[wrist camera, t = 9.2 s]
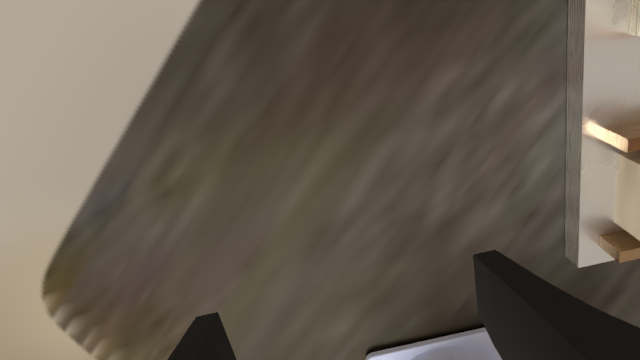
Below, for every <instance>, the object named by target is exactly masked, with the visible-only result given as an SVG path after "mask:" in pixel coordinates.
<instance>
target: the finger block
mask: <svg viewBox="0 0 640 360" xmlns="http://www.w3.org/2000/svg"><path fill="white" fill-rule="evenodd" d="M614 222H615V223H616V224H617V225H619V226H620V227H621V228H623V229H624V230H626V231H627V232H628V233H630V234H631V235H632V236H634V237H635V238H636V239H638V240H639V241H640V150H638V151H633V152H629V153H626V152H625V153H621V154H619V156H618V170H617V185H616V199H615V213H614Z"/></svg>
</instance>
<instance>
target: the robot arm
mask: <svg viewBox="0 0 640 360" xmlns="http://www.w3.org/2000/svg"><path fill="white" fill-rule="evenodd" d="M473 258H474V270H475V281H476V293H477V304H478V313H479V315H480V318H481V320H482V322H483V324H484V326H485V327H484V328H480V329H475V330H471V331H466V332H462V333H457V334H453V335H448V336H444V337H439V338H435V339H430V340H426V341H421V342H417V343H412V344H407V345H403V346H398V347H394V348H389V349H385V350H380V351H376V352H372V353H370V354H368V355H367V357H366V360H640V328H638V327H636V326H634V325H632V324H629V323H627V322H625V321H622V320H620V319H618V318H615V317H613V316H611V315H609V314H607V313H605V312H602V311H600V310H598V309H596V308H594V307H592V306H590V305H588V304H586V303H585V302H583V301H581V300H579V299H577V298H575V297H573V296H571V295H569V294H567V293H566V292H564V291H562V290H560V289H558V288H557V287H555V286H553V285H551V284H550V283H548V282H546V281H545V280H543V279H541V278H540V277H538V276H536V275H535V274H533V273H531V272H530V271H528V270H527V269H525V268H523V267H522V266H520V265H519V264H517V263H515V262H514V261H512V260H511V259H509V258H507V257H506V256H504V255H503V254H501V253H499V252H498V251H496V250H493V251H488V252H484V253H479V254H475V255H473ZM168 360H236V358H235V355H234V352H233V350H232V347H231V345H230V342H229V340H228V337H227V335H226V332H225V329H224V327H223V324H222V322H221V319H220V317H219V314H218V312H216V313H212V314H207V315H203V316H199V317H196V318H195V320H194V321H193V323H192V324H191V326H190V327H189V329H188V330H187V331H186V333H185V334H184V336H183V337H182V339H181V340H180V342H179V343H178V345H177V346H176V348H175V349H174V351H173V352H172V354H171V355H170V357H169V358H168Z"/></svg>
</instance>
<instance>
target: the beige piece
mask: <svg viewBox="0 0 640 360" xmlns="http://www.w3.org/2000/svg"><path fill="white" fill-rule="evenodd" d="M638 150H640V0H568V38H567V114H566V191H565V256H566V257H567V258H568V259H569V260H570V261H571V262H572V263H573V264H574V265H575V266H576V267H577V268H581V267H586V266H590V265H594V264H599V263H603V262H608V261H612V260H616V261H617V262H619V263H621V262H626V261H630V260H635V259H639V258H640V241H639V240H638V239H636V238H635V237H634V236H632V235H631V234H630V233H628V232H627V231H626V230H624V229H623V228H621V227H620V226H619V225H617V224H616V223H615V222H614V213H615V199H616V185H617V170H618V156H619V154H621V153H625V152H626V153H629V152H633V151H638Z"/></svg>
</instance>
